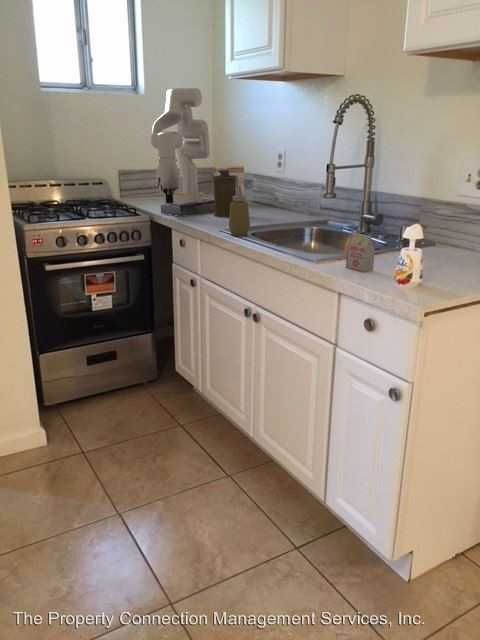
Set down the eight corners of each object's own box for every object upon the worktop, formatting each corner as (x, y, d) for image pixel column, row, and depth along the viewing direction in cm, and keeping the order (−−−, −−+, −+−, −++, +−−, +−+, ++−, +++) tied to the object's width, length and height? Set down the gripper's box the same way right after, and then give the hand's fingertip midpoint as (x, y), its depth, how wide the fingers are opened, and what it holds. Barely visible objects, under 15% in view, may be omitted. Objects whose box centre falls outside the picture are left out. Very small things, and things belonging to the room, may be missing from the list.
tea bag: (354, 266, 158) (357, 231, 155) (372, 270, 153) (375, 235, 150) (345, 268, 156) (347, 233, 153) (363, 272, 151) (366, 236, 148)
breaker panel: (198, 208, 273) (198, 197, 272) (218, 210, 264) (218, 199, 262) (161, 213, 257) (160, 202, 255) (180, 216, 248) (180, 205, 246)
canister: (216, 217, 244) (215, 171, 238) (212, 214, 254) (210, 169, 247) (239, 216, 247) (239, 170, 240) (234, 213, 256) (234, 169, 249)
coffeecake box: (243, 204, 286) (243, 165, 280) (244, 205, 280) (244, 166, 273) (215, 204, 286) (214, 165, 280) (215, 206, 279) (214, 166, 273)
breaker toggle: (180, 203, 259) (180, 192, 257) (189, 204, 255) (188, 193, 253) (174, 204, 256) (173, 193, 255) (182, 205, 252) (182, 194, 251)
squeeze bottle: (248, 237, 200) (248, 187, 194) (226, 236, 201) (225, 187, 195) (251, 233, 207) (251, 184, 201) (230, 232, 209) (230, 184, 203)
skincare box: (172, 208, 272) (171, 176, 267) (163, 207, 276) (161, 176, 270) (184, 206, 278) (183, 175, 273) (175, 205, 282) (173, 174, 277)
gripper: (174, 160, 252) (176, 201, 258) (148, 162, 241) (151, 204, 248) (185, 161, 247) (187, 202, 253) (159, 162, 237) (161, 205, 243)
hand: (169, 203), depth 250 cm, fingers closed
